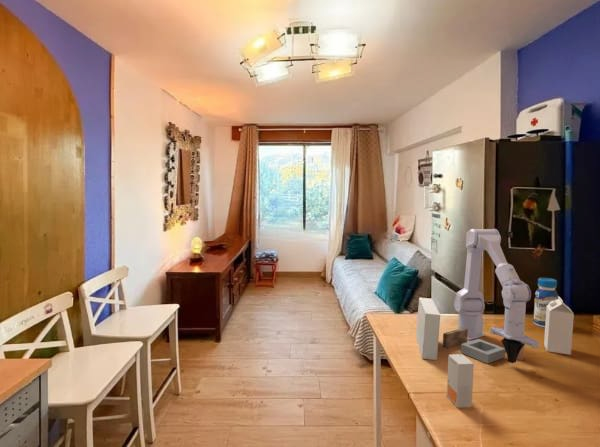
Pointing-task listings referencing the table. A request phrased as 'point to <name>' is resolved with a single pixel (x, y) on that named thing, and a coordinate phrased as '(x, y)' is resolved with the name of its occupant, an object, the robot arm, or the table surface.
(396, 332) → the table surface
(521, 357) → the peach egg shape
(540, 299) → the beverage bottle
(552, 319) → the milk carton
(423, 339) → the skincare box
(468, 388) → the skincare box
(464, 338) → the walnut wall
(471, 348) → the socket block
